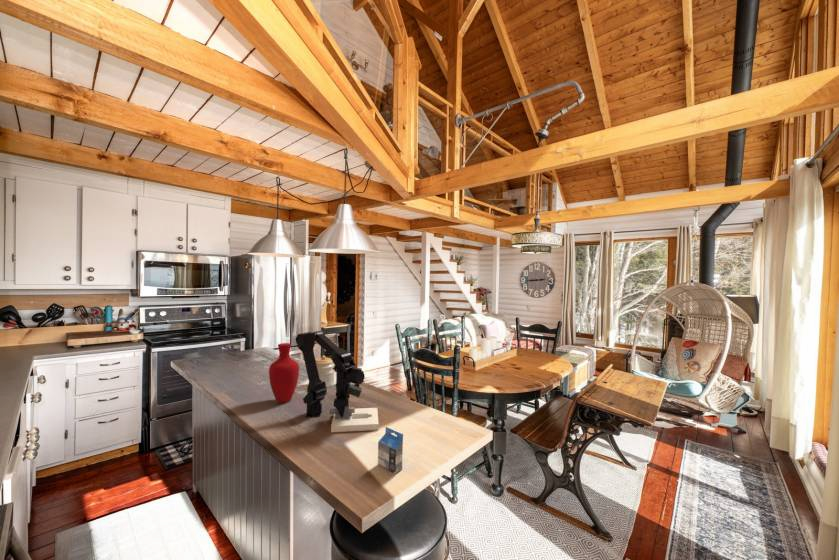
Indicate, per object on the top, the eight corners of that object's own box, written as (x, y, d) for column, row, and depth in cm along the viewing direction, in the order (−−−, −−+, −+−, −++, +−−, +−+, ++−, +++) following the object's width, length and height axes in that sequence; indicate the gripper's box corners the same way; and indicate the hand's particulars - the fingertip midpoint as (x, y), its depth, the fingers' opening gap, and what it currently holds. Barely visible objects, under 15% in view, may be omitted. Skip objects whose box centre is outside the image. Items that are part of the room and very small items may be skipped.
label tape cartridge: (377, 464, 121) (377, 430, 120) (384, 460, 124) (385, 426, 123) (395, 474, 115) (395, 438, 115) (403, 469, 118) (403, 434, 118)
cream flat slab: (331, 432, 144) (331, 426, 144) (334, 414, 162) (335, 409, 162) (378, 429, 148) (378, 423, 148) (377, 412, 165) (377, 407, 165)
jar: (310, 382, 209) (311, 354, 209) (332, 380, 215) (332, 352, 214) (313, 389, 197) (314, 359, 197) (336, 386, 203) (336, 357, 203)
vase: (274, 408, 168) (274, 348, 168) (264, 400, 179) (265, 343, 179) (303, 401, 178) (303, 344, 178) (292, 394, 189) (293, 340, 189)
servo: (329, 419, 151) (329, 406, 151) (330, 415, 155) (330, 402, 155) (354, 418, 153) (354, 404, 153) (354, 414, 157) (354, 401, 157)
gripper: (360, 386, 146) (359, 422, 146) (361, 373, 164) (360, 406, 164) (333, 387, 144) (333, 424, 144) (337, 374, 162) (337, 407, 163)
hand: (342, 414), depth 154 cm, fingers closed on servo, 4 cm apart
